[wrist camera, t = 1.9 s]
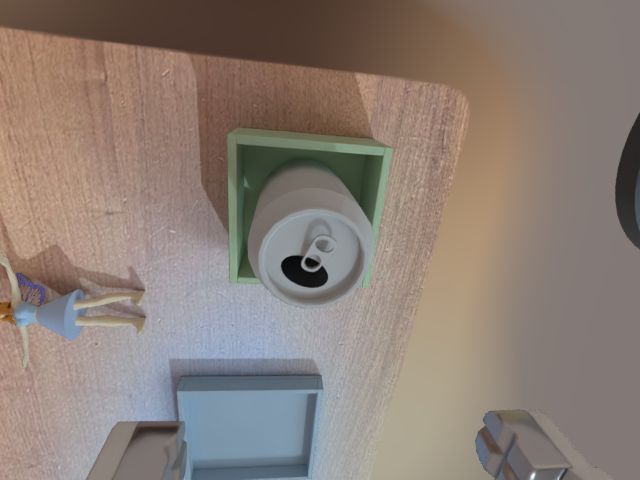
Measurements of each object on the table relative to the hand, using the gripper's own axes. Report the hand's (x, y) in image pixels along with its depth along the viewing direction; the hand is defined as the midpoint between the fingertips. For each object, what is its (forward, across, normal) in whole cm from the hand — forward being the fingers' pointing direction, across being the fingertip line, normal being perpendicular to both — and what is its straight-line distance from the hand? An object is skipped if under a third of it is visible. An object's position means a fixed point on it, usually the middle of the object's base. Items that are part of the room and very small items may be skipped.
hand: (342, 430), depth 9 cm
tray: (+22, +4, +28) cm, 36 cm away
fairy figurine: (+22, +20, +11) cm, 32 cm away
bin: (+22, 0, 0) cm, 22 cm away
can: (+22, 0, 0) cm, 22 cm away
